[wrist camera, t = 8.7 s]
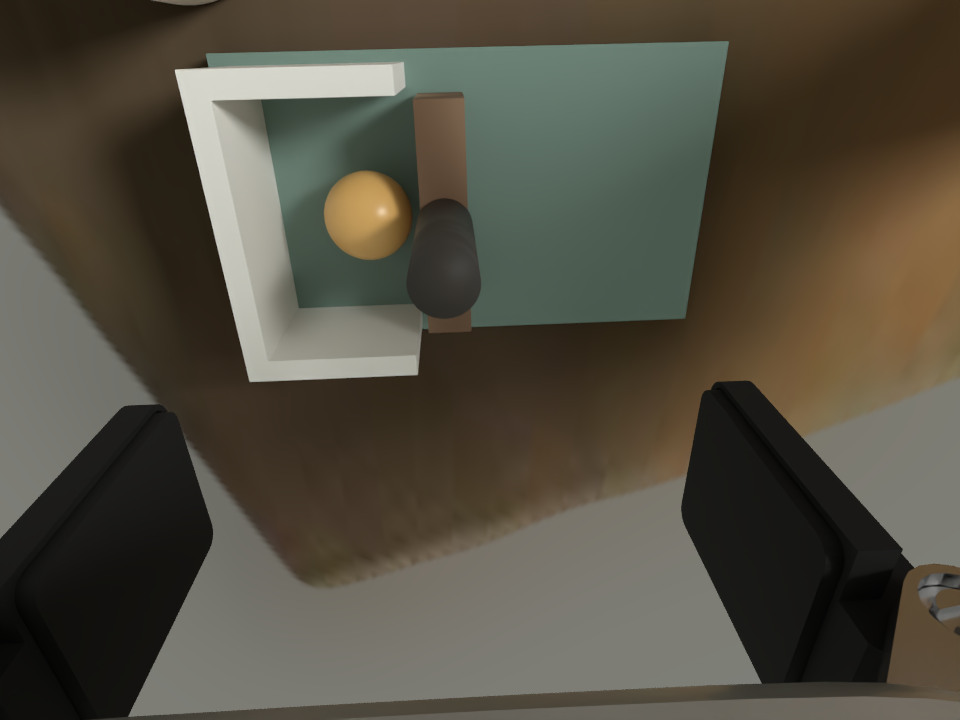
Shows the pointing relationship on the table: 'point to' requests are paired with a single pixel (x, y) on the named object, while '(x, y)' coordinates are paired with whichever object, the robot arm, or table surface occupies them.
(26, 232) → the table surface
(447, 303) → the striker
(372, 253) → the ball
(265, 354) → the game board
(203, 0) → the teacup with lid
